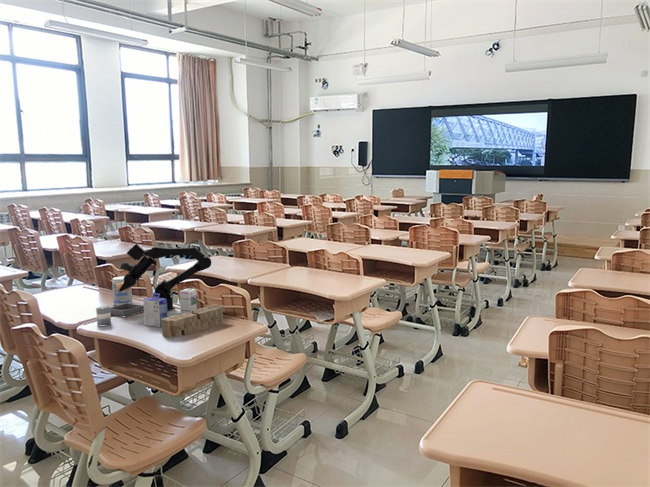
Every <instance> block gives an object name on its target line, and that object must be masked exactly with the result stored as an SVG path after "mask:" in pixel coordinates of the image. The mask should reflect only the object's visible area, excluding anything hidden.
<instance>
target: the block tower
mask: <svg viewBox="0 0 650 487" xmlns="http://www.w3.org/2000/svg"><path fill="white" fill-rule="evenodd" d="M225 311H226V307H225V305H219V304H211V305H208V306H204V307H201V308H198V309H196V310H192V313H188V312H186V313H182V314H181V313H180V314H175V315H171V316H168V317H167V318H163V319H161V325H162V327H161V333H162V337H166V338H180V337H182V336H187V335H190V334H193V333H195V332H200V331H203V330H206V329H209V328H213V327H215V326H219V325H221V324H224V314H223V313H224V312H225Z"/></svg>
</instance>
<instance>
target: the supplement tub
mask: <svg viewBox="0 0 650 487" xmlns="http://www.w3.org/2000/svg"><path fill="white" fill-rule="evenodd" d="M125 276H126V275H125ZM125 276H117V277H113V278H112V281H111V282H112V283H111V285H112V286H111V288H112V301H113V305H114V306H118V305H122V304H126V303H128V304H133V292H132V291H133V290H132V289H133V288H132V287H131V289H130V290H126V291H121V292H120V291H117V287H116V284H118V283H124V277H125Z"/></svg>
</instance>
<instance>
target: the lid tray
mask: <svg viewBox="0 0 650 487" xmlns="http://www.w3.org/2000/svg"><path fill="white" fill-rule="evenodd" d="M141 311H143V312H144V304H135V303H131V304H128V303H126V304H122V305H118V306H116V305H114V306H112V307H110V314H111V316H113V317H120V316H126V317H129V316H128V315H130V316H132V315H131V314H133V315H135V314H134V313H136V314H138V313H137V312H140V313H142V312H141Z"/></svg>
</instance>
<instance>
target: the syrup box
mask: <svg viewBox="0 0 650 487" xmlns="http://www.w3.org/2000/svg"><path fill="white" fill-rule="evenodd" d="M179 300H180V301H179V303H180V314H182V313H186V312H188V313H192V310H196V309H199V307H198V295H197V289H196V288H185V289H182V290H179Z"/></svg>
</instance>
